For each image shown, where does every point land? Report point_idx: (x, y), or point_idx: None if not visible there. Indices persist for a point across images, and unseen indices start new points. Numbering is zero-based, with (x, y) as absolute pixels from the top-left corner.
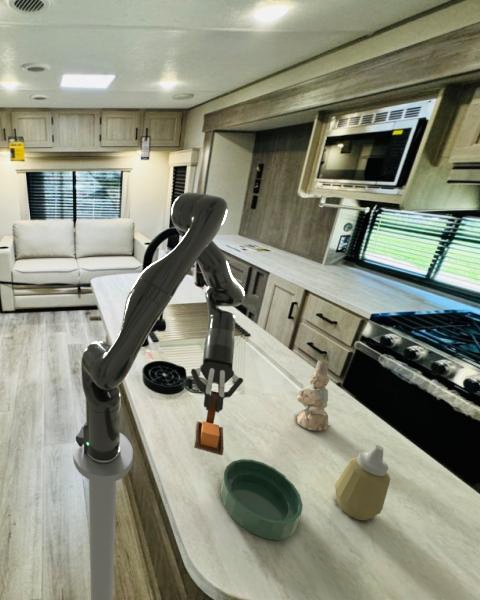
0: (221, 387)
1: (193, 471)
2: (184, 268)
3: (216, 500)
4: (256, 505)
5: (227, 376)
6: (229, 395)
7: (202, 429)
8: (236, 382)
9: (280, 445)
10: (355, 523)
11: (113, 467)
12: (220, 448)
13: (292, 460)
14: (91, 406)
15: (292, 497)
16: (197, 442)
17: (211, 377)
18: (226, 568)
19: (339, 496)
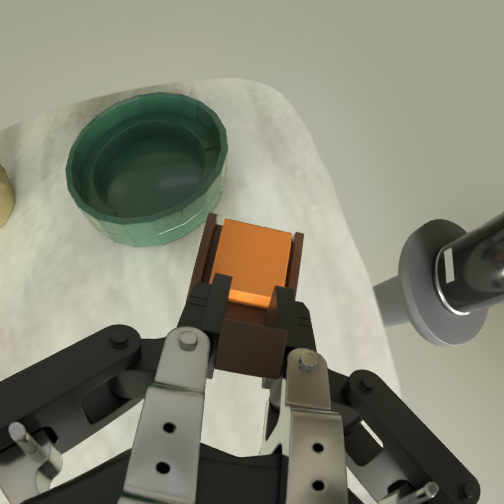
0: (183, 388)
1: None
2: None
3: (235, 178)
4: (154, 172)
5: (86, 502)
6: (122, 330)
7: (289, 246)
8: (15, 413)
9: (28, 356)
10: (15, 182)
11: (431, 239)
12: (214, 228)
13: (23, 308)
14: None
15: (81, 167)
16: (296, 233)
17: (311, 482)
18: (245, 93)
19: (5, 187)
